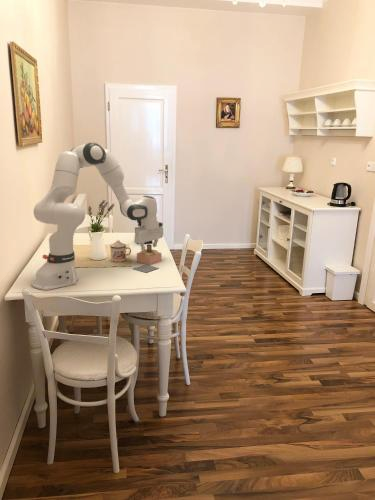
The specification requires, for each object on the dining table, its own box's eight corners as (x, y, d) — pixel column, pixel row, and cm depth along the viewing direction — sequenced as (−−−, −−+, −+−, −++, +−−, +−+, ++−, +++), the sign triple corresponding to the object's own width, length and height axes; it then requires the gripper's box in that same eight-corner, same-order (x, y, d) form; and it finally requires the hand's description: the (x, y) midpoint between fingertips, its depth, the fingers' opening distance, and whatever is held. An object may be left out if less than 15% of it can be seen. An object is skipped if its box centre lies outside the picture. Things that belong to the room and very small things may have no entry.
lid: (149, 256, 226) (149, 248, 225) (136, 253, 232) (136, 245, 231) (161, 253, 233) (161, 245, 232) (148, 249, 239) (148, 241, 238)
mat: (146, 273, 214) (146, 272, 214) (132, 268, 220) (132, 268, 220) (158, 268, 222) (158, 267, 222) (145, 264, 228) (145, 264, 228)
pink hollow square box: (149, 265, 227) (149, 256, 226) (136, 261, 233) (136, 253, 232) (161, 261, 235) (161, 252, 234) (148, 257, 241) (148, 249, 239)
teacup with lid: (111, 262, 230) (111, 243, 226) (109, 258, 238) (109, 239, 235) (132, 261, 233) (132, 241, 230) (129, 256, 242) (129, 238, 238)
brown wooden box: (133, 240, 279) (133, 214, 274) (149, 239, 282) (149, 214, 277) (137, 246, 264) (137, 219, 259) (154, 245, 267) (154, 218, 262)
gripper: (139, 228, 218) (140, 253, 222) (165, 222, 234) (164, 245, 238) (131, 226, 222) (132, 250, 226) (157, 221, 238) (157, 243, 241)
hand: (149, 248), depth 232 cm, fingers open, 8 cm apart
